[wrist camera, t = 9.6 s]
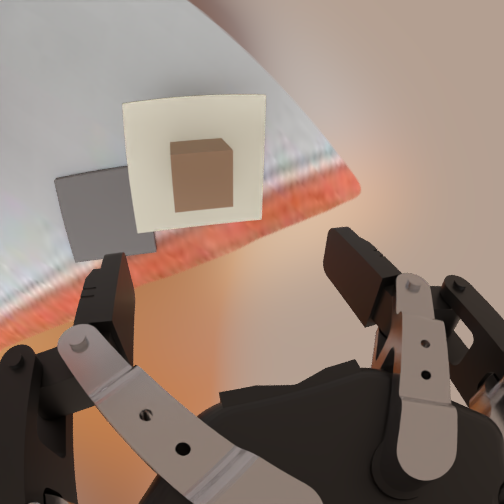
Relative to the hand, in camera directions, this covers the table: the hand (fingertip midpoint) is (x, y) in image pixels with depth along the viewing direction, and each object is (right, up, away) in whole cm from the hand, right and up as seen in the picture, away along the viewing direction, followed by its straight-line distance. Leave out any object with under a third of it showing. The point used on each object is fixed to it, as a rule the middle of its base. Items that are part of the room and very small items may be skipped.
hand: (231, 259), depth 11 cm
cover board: (-4, +8, +12) cm, 15 cm away
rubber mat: (-20, +6, +27) cm, 33 cm away
